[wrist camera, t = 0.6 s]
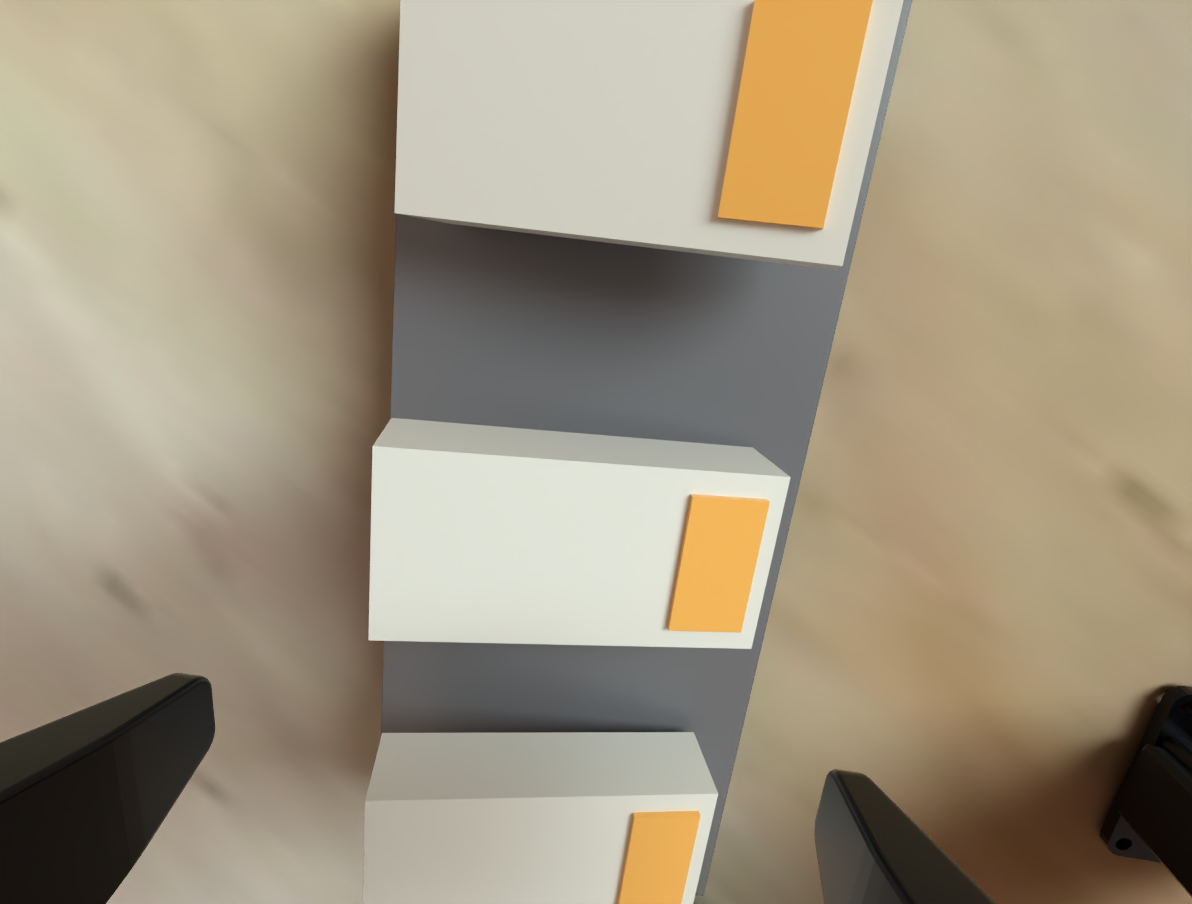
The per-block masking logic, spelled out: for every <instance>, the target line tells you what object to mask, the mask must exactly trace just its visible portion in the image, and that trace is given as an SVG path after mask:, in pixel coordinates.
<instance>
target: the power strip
mask: <svg viewBox="0 0 1192 904" xmlns="http://www.w3.org/2000/svg"><path fill="white" fill-rule="evenodd" d="M911 4H912V0H904V1H903V5H902V10H901V14H900V18H899V23H898V27H897V31H896V36H895V40H894V44H893V49H892V53H891V57H890V62H889V66H888V71H887V75H886V79H885V84H884V88H883V92H882V97H881V101H880V105H879V110H878V114H877V118H876V123H875V127H874V131H873V136H872V140H871V144H870V149H869V153H868V157H867V162H866V166H865V171H864V175H863V179H862V184H861V188H860V192H859V197H858V201H857V205H856V210H855V214H854V218H853V223H852V227H851V231H850V236H849V240H848V244H847V249H846V253H845V257H844V262H843V266H842V267H840V268H838V269H837V270H831V269H822V268H814V267H806V266H797V265H789V264H781V263H772V262H764V261H756V260H747V259H739V258H731V257H722V256H714V255H706V254H697V253H689V252H681V251H673V250H664V249H656V248H648V247H639V246H631V245H623V244H614V243H606V242H598V241H589V240H581V239H573V238H564V237H556V236H548V235H539V234H531V233H523V232H514V231H506V230H498V229H489V228H481V227H473V226H464V225H456V224H449V223H443V222H438V221H433V220H428V219H423V218H417V217H412V216H407V215H402V214H397V213H396V245H395V279H394V313H393V347H392V382H391V416H390V419H391V418H400V419H413V420H425V421H437V422H449V423H461V424H474V425H486V426H498V427H510V428H522V429H535V430H547V431H559V432H571V433H583V434H596V435H608V436H620V437H632V438H644V439H656V440H669V441H681V442H693V443H705V444H717V445H730V446H742V447H753V448H754V449H755V450H757V451H758V452H759V453H760V454H762V455H763V456H764V457H766V458H767V459H768V460H769V461H771V462H772V463H773V464H774V465H776V466H777V467H778V468H780V469H781V470H782V471H783V472H785V473H786V474H787V475H789V476H790V477H791V478H790V482H789V486H788V491H787V495H786V499H785V504H784V508H783V513H782V517H781V521H780V526H779V530H778V534H777V539H776V543H775V548H774V552H773V556H772V561H771V565H770V570H769V574H768V578H767V583H766V587H765V591H764V596H763V600H762V605H761V609H760V613H759V618H758V622H757V626H756V631H755V635H754V640H753V644H752V648H751V649H734V648H689V647H644V646H599V645H553V644H508V643H463V642H418V641H384V655H383V690H382V724H381V735H382V733H541V732H694V734H695V736H696V739H697V741H698V744H699V747H700V749H701V752H702V754H703V757H704V759H705V762H706V764H707V767H708V769H709V772H710V774H711V777H712V779H713V782H714V784H715V787H716V789H717V792H718V797H717V802H716V806H715V810H714V815H713V819H712V824H711V828H710V832H709V837H708V841H707V845H706V850H705V854H704V859H703V863H702V867H701V872H700V876H699V881H698V885H697V889H696V895H702V896H703V895H704V890H705V886H706V882H707V878H708V873H709V869H710V865H711V861H712V856H713V852H714V848H715V843H716V839H717V835H718V831H719V826H720V822H721V818H722V813H723V809H724V805H725V801H726V796H727V792H728V788H729V783H730V779H731V775H732V771H733V766H734V762H735V758H736V753H737V749H738V745H739V741H740V736H741V732H742V728H743V723H744V719H745V715H746V711H747V706H748V702H749V698H750V693H751V689H752V685H753V681H754V676H755V672H756V668H757V663H758V659H759V655H760V651H761V646H762V642H763V638H764V634H765V629H766V625H767V621H768V616H769V612H770V608H771V604H772V599H773V595H774V591H775V586H776V582H777V578H778V574H779V569H780V565H781V561H782V556H783V552H784V548H785V544H786V539H787V535H788V531H789V526H790V522H791V518H792V514H793V509H794V505H795V501H796V496H797V492H798V488H799V484H800V479H801V475H802V471H803V466H804V462H805V458H806V454H807V449H808V445H809V441H810V436H811V432H812V428H813V424H814V419H815V415H816V411H817V406H818V402H819V398H820V394H821V389H822V385H823V381H824V377H825V372H826V368H827V364H828V359H829V355H830V351H831V347H832V342H833V338H834V334H835V329H836V325H837V321H838V317H839V312H840V308H841V304H842V299H843V295H844V291H845V287H846V282H847V278H848V274H849V269H850V265H851V261H852V257H853V252H854V248H855V244H856V239H857V235H858V231H859V227H860V222H861V218H862V214H863V209H864V205H865V201H866V197H867V192H868V188H869V184H870V179H871V175H872V171H873V167H874V162H875V158H876V154H877V149H878V145H879V141H880V137H881V132H882V128H883V124H884V120H885V115H886V111H887V107H888V102H889V98H890V94H891V90H892V85H893V81H894V77H895V72H896V68H897V64H898V60H899V55H900V51H901V47H902V42H903V38H904V34H905V30H906V25H907V21H908V17H909V12H910V8H911Z"/></svg>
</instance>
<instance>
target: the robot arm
mask: <svg viewBox="0 0 1192 904" xmlns="http://www.w3.org/2000/svg"><path fill="white" fill-rule="evenodd" d="M1185 702H1186V703H1185ZM1183 703H1185V704H1184V705H1182V704H1183ZM214 733H215V721H214V710H213V699H212V689H211V684H210V682H209V681H208V679H207V678H205V677H202V676H196V675H189V674H183V673H175V674H171V675H168V676H166V677H163V678H161V679H158V680H156V681H153V682H151V683H148V684H146V685H143V686H141V687H138V688H136V689H133V690H131V691H128V692H126V693H123V694H121V695H118V696H116V697H113V698H111V699H108V700H106V701H103V702H101V703H98V704H96V705H93V706H91V707H88V708H86V709H83V710H81V711H78V712H76V713H73V714H71V715H68V716H66V717H63V718H61V719H58V720H56V721H53V722H51V723H48V724H46V725H43V726H41V727H38V728H36V729H33V730H31V731H28V732H26V733H23V734H21V735H18V736H16V737H13V738H11V739H8V740H6V741H3V742H1V743H0V904H106V903H107V901H108V900H109V899H110V897H111V896H112V895H113V893H114V892H115V891H116V889H117V888H118V887H119V885H120V884H121V883H122V881H123V880H124V879H125V877H126V876H127V874H128V873H129V872H130V870H131V869H132V868H133V866H134V865H135V863H136V862H137V860H138V859H139V857H140V856H141V854H142V853H143V851H144V850H145V848H146V847H147V845H148V844H149V842H150V841H151V839H152V837H153V836H154V834H155V833H156V831H157V830H158V828H159V827H160V825H161V823H162V822H163V820H164V819H165V817H166V816H167V814H168V812H169V811H170V809H171V808H172V806H173V805H174V803H175V802H176V800H177V798H178V797H179V795H180V794H181V792H182V791H183V789H184V787H185V786H186V784H187V783H188V781H189V780H190V778H191V777H192V775H193V773H194V772H195V770H196V769H197V767H198V766H199V764H200V762H201V761H202V759H203V758H204V756H205V755H206V753H207V751H208V750H209V748H210V746H211V744H212V741H213V738H214ZM1099 836H1100V839H1101V841H1102V842H1103V843H1104V844H1105V846H1106V847H1107V848H1108V849H1109V851H1111V852H1112V853H1113V854H1116V855H1119V856H1125V857H1131V858H1137V859H1143V860H1149V861H1155V862H1161V863H1162V864H1163V865H1164V866H1165V867H1166V868H1167V869H1168V871H1169V872H1170V873H1171V874H1172V875H1173V876H1174V877H1175V879H1176V880H1177V881H1178V882H1179V883H1180V884H1181V886H1182V887H1183V888H1184V889H1185V890H1186V891H1187V892H1188V894H1189V895H1190V896H1191V897H1192V687H1186V686H1178V687H1175V688H1171V689H1170V690H1168V691H1167V692H1166V693H1165V694H1164V696H1163V697H1162V699H1161V701H1160V703H1159V705H1158V708H1157V710H1156V712H1155V714H1154V716H1153V718H1152V721H1151V723H1150V725H1149V727H1148V729H1147V731H1146V734H1145V736H1144V738H1143V740H1142V742H1141V744H1140V747H1139V749H1138V751H1137V753H1136V755H1135V757H1134V759H1133V762H1132V764H1131V766H1130V768H1129V770H1128V772H1127V775H1126V777H1125V779H1124V781H1123V783H1122V785H1121V788H1120V790H1119V792H1118V794H1117V796H1116V798H1115V801H1114V803H1113V805H1112V807H1111V809H1110V811H1109V813H1108V816H1107V818H1106V820H1105V822H1104V824H1103V826H1102V829H1101V831H1100V835H1099ZM815 845H816V851H817V858H818V864H819V871H820V877H821V884H822V890H823V897H824V904H995V903H994V902H993V901H992V900H991V899H990V898H989V897H988V896H987V895H986V894H985V893H984V892H983V891H982V890H981V889H980V888H979V887H978V886H977V885H976V884H975V883H974V882H973V881H972V880H971V879H970V878H969V877H968V876H967V875H966V874H965V873H964V872H963V871H962V870H961V869H960V868H959V867H958V866H957V865H956V864H955V863H954V862H953V861H952V860H951V859H950V858H949V857H948V856H947V855H946V854H945V853H944V852H943V851H942V850H941V849H940V848H939V847H938V846H937V845H936V844H935V843H934V842H933V841H932V840H931V839H930V838H929V837H928V836H927V835H926V834H925V833H924V832H923V831H922V830H921V829H920V828H919V827H918V826H917V825H916V824H915V823H914V822H913V821H912V820H911V819H910V818H909V817H908V816H907V815H906V814H905V813H904V812H903V811H902V810H901V809H900V808H899V807H898V806H897V805H896V804H895V803H894V802H893V801H892V800H891V799H890V798H889V797H888V796H887V795H886V794H885V793H884V792H883V791H882V790H881V789H880V788H879V787H878V786H877V785H876V784H875V783H874V782H873V781H872V780H871V779H870V778H869V777H867V776H866V775H864V774H862V773H858V772H851V771H844V770H837V769H834V770H832V771H830V772H829V773H828V775H827V777H826V780H825V784H824V788H823V792H822V796H821V800H820V804H819V808H818V812H817V816H816V821H815Z"/></svg>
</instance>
